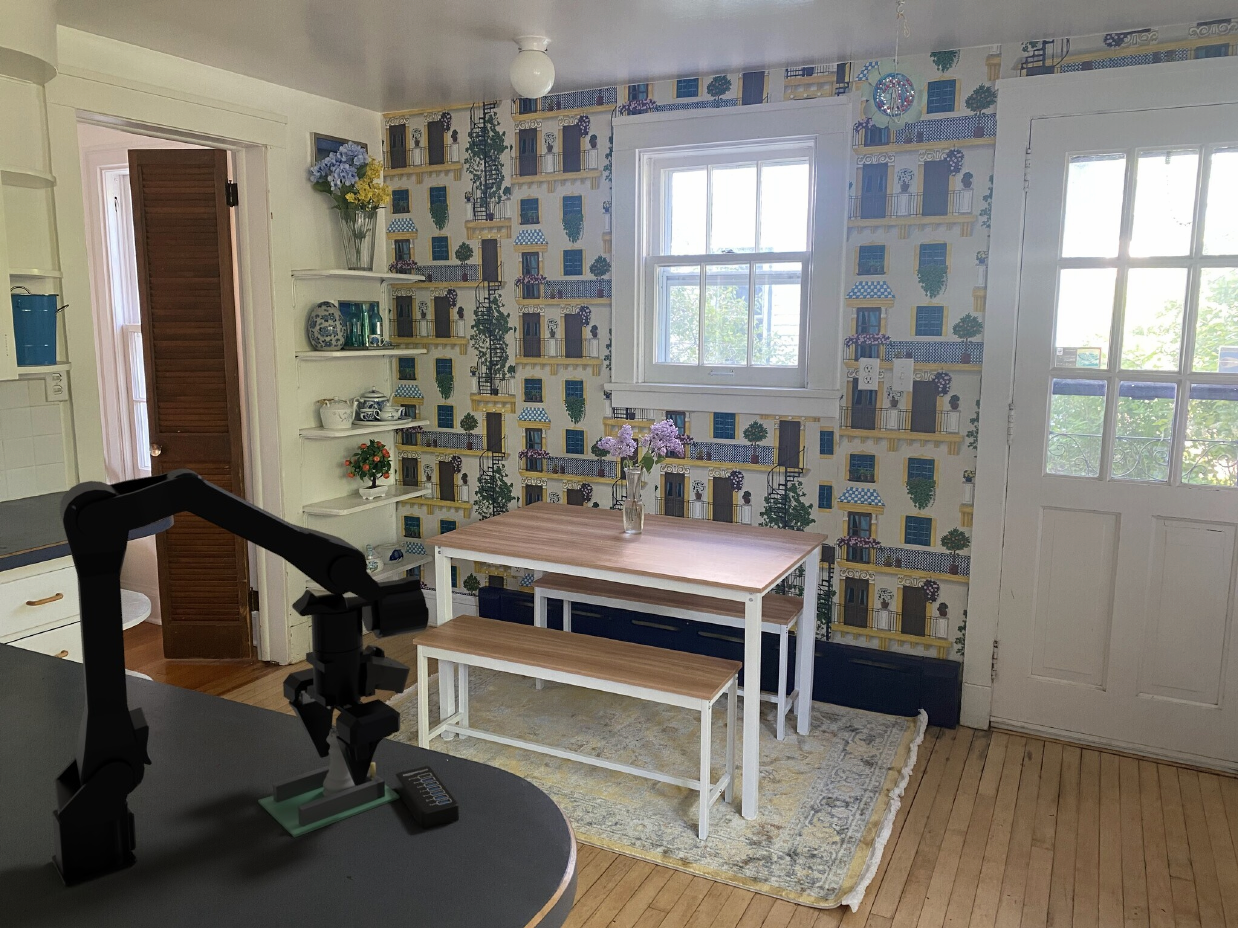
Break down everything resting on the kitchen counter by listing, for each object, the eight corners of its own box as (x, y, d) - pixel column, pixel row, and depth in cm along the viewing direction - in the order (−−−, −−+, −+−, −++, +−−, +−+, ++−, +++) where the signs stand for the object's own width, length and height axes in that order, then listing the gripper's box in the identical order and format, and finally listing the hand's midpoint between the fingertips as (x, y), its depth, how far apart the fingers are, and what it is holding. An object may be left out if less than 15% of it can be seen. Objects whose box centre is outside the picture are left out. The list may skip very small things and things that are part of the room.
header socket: (294, 837, 100) (292, 804, 99) (258, 802, 107) (257, 771, 106) (399, 797, 108) (399, 767, 108) (360, 768, 116) (359, 739, 115)
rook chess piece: (314, 796, 108) (312, 732, 107) (342, 780, 112) (340, 719, 111) (341, 806, 106) (340, 741, 105) (369, 789, 110) (367, 727, 108)
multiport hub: (422, 832, 102) (422, 813, 101) (394, 789, 111) (394, 772, 111) (460, 822, 104) (460, 804, 104) (429, 781, 113) (429, 764, 113)
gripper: (440, 650, 105) (441, 777, 107) (363, 612, 118) (365, 725, 120) (350, 673, 97) (354, 809, 99) (279, 630, 111) (283, 750, 113)
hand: (341, 769), depth 108 cm, fingers open, 9 cm apart
